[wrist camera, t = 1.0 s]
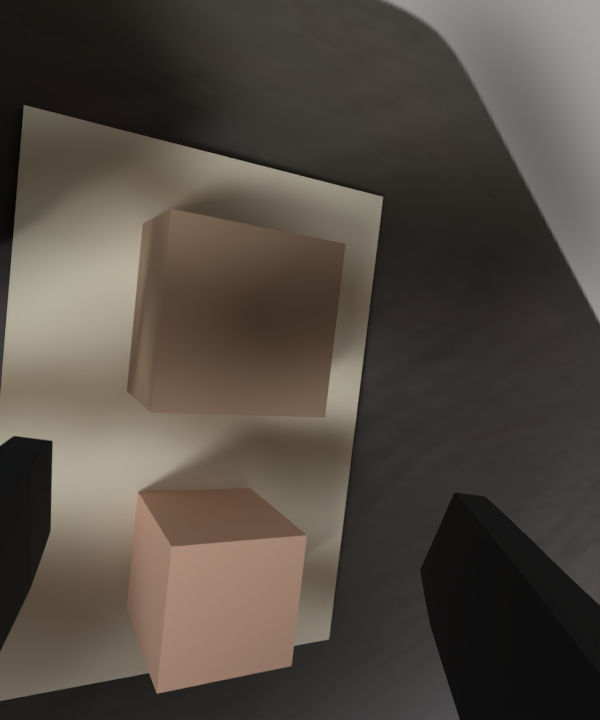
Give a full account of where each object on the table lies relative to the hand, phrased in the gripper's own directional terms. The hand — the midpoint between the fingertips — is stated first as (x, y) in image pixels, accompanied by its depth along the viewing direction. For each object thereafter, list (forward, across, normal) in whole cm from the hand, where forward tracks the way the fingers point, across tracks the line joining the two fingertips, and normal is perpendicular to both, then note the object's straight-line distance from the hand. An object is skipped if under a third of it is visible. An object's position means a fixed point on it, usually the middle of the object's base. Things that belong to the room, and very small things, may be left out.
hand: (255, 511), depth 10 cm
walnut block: (+12, +1, +2) cm, 12 cm away
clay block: (+8, +1, +10) cm, 13 cm away
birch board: (+11, +1, +6) cm, 12 cm away
